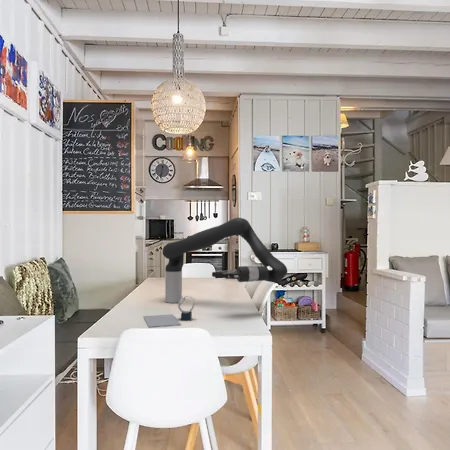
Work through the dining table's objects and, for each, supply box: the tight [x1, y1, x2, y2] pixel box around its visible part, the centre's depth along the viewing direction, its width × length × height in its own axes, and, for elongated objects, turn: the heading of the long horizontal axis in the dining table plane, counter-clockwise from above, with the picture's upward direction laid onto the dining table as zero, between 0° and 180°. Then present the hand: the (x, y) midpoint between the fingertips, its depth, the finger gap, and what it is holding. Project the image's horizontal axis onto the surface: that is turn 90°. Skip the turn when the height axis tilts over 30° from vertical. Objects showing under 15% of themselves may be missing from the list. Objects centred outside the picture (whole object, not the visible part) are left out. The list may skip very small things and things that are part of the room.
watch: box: [177, 294, 196, 322], centre depth 190 cm, size 6×8×11 cm
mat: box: [142, 313, 182, 329], centre depth 187 cm, size 20×14×1 cm
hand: (213, 275), depth 194 cm, fingers open, 4 cm apart
